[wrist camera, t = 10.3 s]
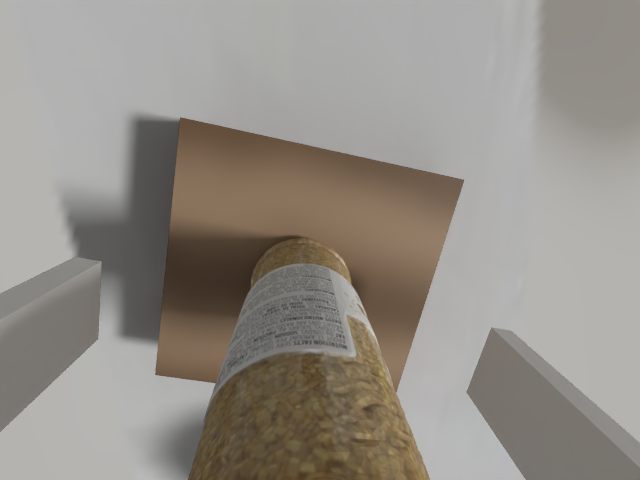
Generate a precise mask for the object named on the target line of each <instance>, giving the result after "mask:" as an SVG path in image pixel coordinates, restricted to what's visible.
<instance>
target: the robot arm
mask: <svg viewBox="0 0 640 480" xmlns="http://www.w3.org/2000/svg"><path fill="white" fill-rule="evenodd" d="M101 264H102V261H96V260H90V259H85V258H79V257H74V258H72V259H70V260H68V261H66V262H64V263H62V264H60V265H58V266H56V267H54V268H52V269H50V270H48V271H46V272H44V273H42V274H40V275H38V276H36V277H34V278H31V279H30V280H27V281H25V282H23V283H21V284H20V285H17V286H15V287H13V288H11V289H9V290H7V291H5V292H3V293H1V294H0V432H1V431H2V430H3V429H4V428H5V427H6V426H7V425H8V424H9V423H10V422H11V421H12V420H13V419H14V418H15V417H16V416H17V415H18V414H19V413H21V412H22V411H23V409H25V408H26V407H27V406H28V405H29V404H30V403H31V402H32V401H33V400H34V399H35V398H36V397H37V396H38V395H40V393H42V392H43V390H45V389H46V388H47V387H48V386H49V385H50V384H51V383H52V382H53V381H54V380H55V379H56V378H57V377H59V376H60V374H61V373H63V372H64V371H65V370H66V369H67V368H68V367H69V366H70V365H71V364H72V363H73V362H74V361H75V360H76V359H77V358H78V357H80V356H81V355H82V354H83V353H84V352H85V351H86V350H87V349H88V348H89V347H90V346H91V345H92V344H93V343H94V342H95V341H96V340H97V339H98V332H99V310H100V287H101ZM467 394H468V395H469V397H470V398H471V399H472V401H473V402H474V404H475V405H476V407H477V408H478V410H479V411H480V413H481V414H482V416H483V417H484V419H485V420H486V422H487V423H488V425H489V426H490V427H491V429H492V430H493V432H494V433H495V435H496V436H497V438H498V439H499V441H500V442H501V444H502V445H503V447H504V448H505V450H506V451H507V453H508V454H509V456H510V457H511V458H512V460H513V461H514V463H515V464H516V466H517V467H518V469H519V470H520V472H521V473H522V475H523V476H524V478H525V479H526V480H640V443H639V442H638V441H637V440H636V439H635V438H634V437H633V436H631V435H630V434H629V433H628V432H627V431H626V430H625V429H623V428H622V427H621V426H620V425H619V424H618V423H616V422H615V421H614V420H613V419H612V418H611V417H610V416H608V415H607V414H606V413H605V412H604V411H602V410H601V409H600V408H599V407H598V406H597V405H596V404H595V403H594V402H592V401H591V400H590V399H589V398H588V397H586V396H585V395H584V394H583V393H582V392H581V391H580V390H579V389H577V388H576V387H575V386H574V385H573V384H572V383H571V382H569V381H568V380H567V379H566V378H565V377H564V376H562V375H561V374H560V373H559V372H558V371H557V370H556V369H555V368H553V367H552V366H551V365H550V364H549V363H548V362H546V361H545V360H544V359H543V358H542V357H541V356H539V355H538V354H537V353H536V352H535V351H534V350H533V349H531V348H530V347H529V346H528V345H527V344H526V343H525V342H524V341H522V340H521V339H520V338H519V337H518V336H517V335H516V334H514V333H513V332H512V331H509V330H504V329H498V328H492V327H491V330H490V333H489V335H488V338H487V340H486V343H485V346H484V348H483V351H482V353H481V356H480V359H479V361H478V364H477V366H476V369H475V372H474V374H473V377H472V379H471V382H470V385H469V387H468V390H467Z"/></svg>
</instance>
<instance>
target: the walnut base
mask: <svg viewBox="0 0 640 480" xmlns="http://www.w3.org/2000/svg"><path fill="white" fill-rule="evenodd" d="M463 182H464V180H462V179H458V178H453V177H449V176H444V175H440V174H435V173H430V172H426V171H421V170H417V169H412V168H408V167H403V166H399V165H394V164H390V163H385V162H381V161H376V160H371V159H367V158H362V157H358V156H353V155H349V154H344V153H340V152H335V151H331V150H326V149H321V148H317V147H312V146H308V145H303V144H299V143H294V142H290V141H285V140H281V139H276V138H272V137H267V136H262V135H258V134H253V133H249V132H244V131H240V130H235V129H231V128H226V127H222V126H217V125H212V124H208V123H203V122H199V121H194V120H190V119H185V118H181V117H180V125H179V136H178V146H177V156H176V167H175V177H174V187H173V198H172V208H171V218H170V228H169V239H168V249H167V259H166V270H165V280H164V290H163V301H162V311H161V321H160V331H159V342H158V352H157V362H156V373H155V375H160V376H167V377H175V378H182V379H189V380H197V381H204V382H211V383H216V382H217V379H218V376H219V373H220V370H221V367H222V364H223V361H224V358H225V355H226V353H227V350H228V347H229V344H230V341H231V338H232V335H233V332H234V329H235V326H236V323H237V321H238V318H239V315H240V312H241V309H242V307H243V304H244V301H245V299H246V297H247V295H248V293H249V291H250V289H251V277H252V273H253V270H254V268H255V266H256V264H257V262H258V261H259V259H260V258H261V257H262V256H263V255H264V254H265V252H266V251H267V250H268V249H270V248H272V247H273V246H275V245H276V244H278V243H280V242H284V241H287V240H290V239H299V238H307V239H311V240H315V241H318V242H321V243H324V244H325V245H327V246H329V247H331V248H332V249H334V250H335V251H336V252H337V253H338V254H339V255H340V256H341V257H342V258H343V260H344V262H345V263H346V266H347V268H348V270H349V273H350V277H351V284H352V286H353V288H354V289H355V291H356V292H357V294H358V296H359V298H360V301H361V303H362V305H363V308H364V310H365V312H366V315H367V317H368V320H369V322H370V325H371V327H372V329H373V332H374V334H375V336H376V339H377V342H378V345H379V348H380V352H381V355H382V357H383V359H384V361H385V363H386V366H387V368H388V370H389V374H390V377H391V380H392V383H393V387H394V389H395V392H397V388H398V385H399V382H400V379H401V376H402V373H403V370H404V367H405V363H406V360H407V357H408V354H409V351H410V348H411V345H412V342H413V338H414V335H415V332H416V329H417V326H418V323H419V320H420V317H421V313H422V310H423V307H424V304H425V301H426V298H427V295H428V292H429V288H430V285H431V282H432V279H433V276H434V273H435V270H436V266H437V263H438V260H439V257H440V254H441V251H442V248H443V245H444V241H445V238H446V235H447V232H448V229H449V226H450V223H451V220H452V216H453V213H454V210H455V207H456V204H457V201H458V198H459V195H460V191H461V188H462V185H463Z"/></svg>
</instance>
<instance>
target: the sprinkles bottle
mask: <svg viewBox="0 0 640 480" xmlns="http://www.w3.org/2000/svg"><path fill="white" fill-rule="evenodd" d="M188 480H430V478H429V475H428V473H427V470H426V467H425V465H424V463H423V459H422V456H421V454H420V452H419V451H418V448H417V445H416V442H415V440H414V437H413V434H412V431H411V429H410V427H409V425H408V422H407V420H406V418H405V414H404V411H403V409H402V407H401V405H400V401H399V399H398V396H397V394H396V392H395V389H394V387H393V383H392V380H391V377H390V374H389V370H388V368H387V366H386V363H385V361H384V359H383V357H382V355H381V352H380V348H379V345H378V342H377V339H376V336H375V334H374V332H373V329H372V327H371V325H370V322H369V320H368V317H367V315H366V312H365V310H364V308H363V305H362V303H361V301H360V298H359V296H358V294H357V292H356V291H355V289H354V288H353V286H352V284H351V277H350V273H349V270H348V268H347V266H346V263H345V262H344V260H343V258H342V257H341V256H340V255H339V254H338V253H337V252H336V251H335V250H334V249H332V248H331V247H329V246H327V245H325V244H324V243H321V242H318V241H315V240H311V239H307V238H299V239H290V240H287V241H284V242H280V243H278V244H276V245H275V246H273V247H272V248H270V249H268V250H267V251H266V252H265V254H264V255H263V256H262V257H261V258H260V259H259V261H258V262H257V264H256V266H255V268H254V270H253V273H252V277H251V289H250V291H249V293H248V295H247V297H246V299H245V301H244V304H243V307H242V309H241V312H240V315H239V318H238V321H237V323H236V326H235V329H234V332H233V335H232V338H231V341H230V344H229V347H228V350H227V353H226V355H225V358H224V361H223V364H222V367H221V370H220V373H219V376H218V379H217V382H216V385H215V387H214V390H213V393H212V396H211V399H210V402H209V405H208V408H207V411H206V415H205V420H204V427H203V433H202V436H201V439H200V442H199V445H198V448H197V451H196V455H195V458H194V461H193V465H192V469H191V472H190V475H189V478H188Z"/></svg>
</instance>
